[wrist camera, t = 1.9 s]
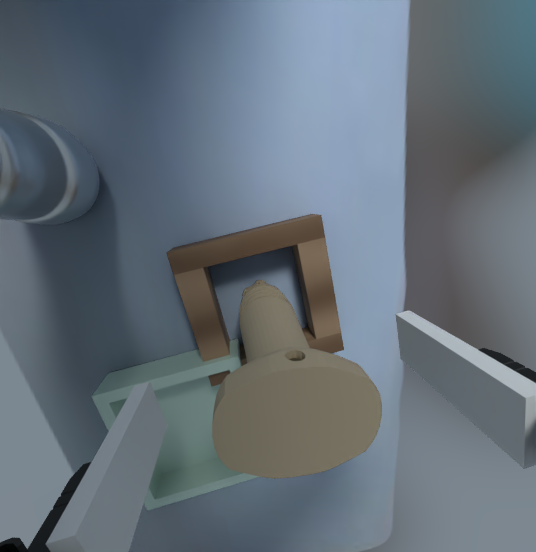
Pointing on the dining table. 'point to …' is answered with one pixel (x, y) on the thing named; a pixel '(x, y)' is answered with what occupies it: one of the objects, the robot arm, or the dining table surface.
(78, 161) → the plastic bottle
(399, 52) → the dining table surface
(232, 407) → the handle
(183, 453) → the tray
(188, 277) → the brown wooden frame
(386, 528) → the dining table surface
